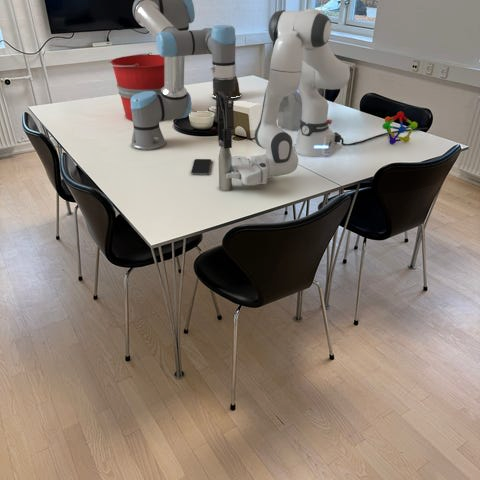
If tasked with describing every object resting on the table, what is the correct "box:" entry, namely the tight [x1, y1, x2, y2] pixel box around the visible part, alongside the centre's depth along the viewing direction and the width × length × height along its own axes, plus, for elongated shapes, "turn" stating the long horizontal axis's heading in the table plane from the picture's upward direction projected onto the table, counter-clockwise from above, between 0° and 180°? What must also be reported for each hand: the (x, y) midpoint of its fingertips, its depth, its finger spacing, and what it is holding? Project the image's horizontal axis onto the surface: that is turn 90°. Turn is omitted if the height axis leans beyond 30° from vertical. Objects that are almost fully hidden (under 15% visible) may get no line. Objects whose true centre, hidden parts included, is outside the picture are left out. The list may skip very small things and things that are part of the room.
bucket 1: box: [107, 51, 164, 122], centre depth 239 cm, size 35×35×30 cm
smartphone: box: [190, 158, 212, 176], centre depth 184 cm, size 7×1×15 cm
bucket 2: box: [277, 88, 326, 131], centre depth 226 cm, size 30×30×28 cm
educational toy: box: [382, 110, 418, 145], centre depth 207 cm, size 16×13×15 cm
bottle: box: [218, 147, 233, 192], centre depth 162 cm, size 5×5×18 cm
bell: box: [212, 75, 242, 97], centre depth 278 cm, size 19×26×20 cm
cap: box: [218, 137, 224, 148], centre depth 158 cm, size 4×4×2 cm
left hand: (224, 144), depth 158 cm, fingers open, 7 cm apart
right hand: (223, 172), depth 164 cm, fingers closed on bottle, 5 cm apart
